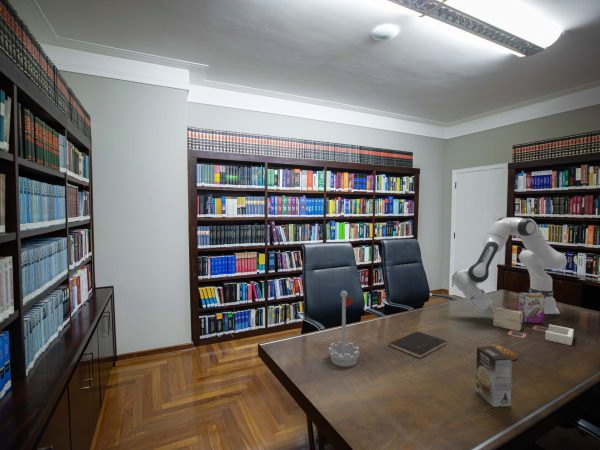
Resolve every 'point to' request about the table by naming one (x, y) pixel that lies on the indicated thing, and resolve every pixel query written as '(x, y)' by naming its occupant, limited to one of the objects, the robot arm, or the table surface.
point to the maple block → (507, 319)
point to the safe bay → (559, 334)
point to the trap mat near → (517, 334)
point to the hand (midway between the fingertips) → (493, 315)
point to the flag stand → (344, 342)
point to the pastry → (506, 351)
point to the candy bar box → (532, 307)
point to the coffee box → (494, 376)
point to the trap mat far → (541, 328)
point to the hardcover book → (418, 344)
